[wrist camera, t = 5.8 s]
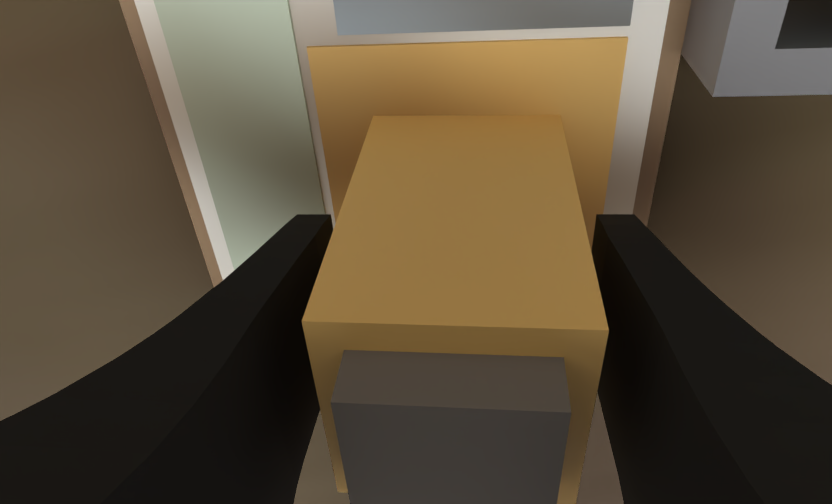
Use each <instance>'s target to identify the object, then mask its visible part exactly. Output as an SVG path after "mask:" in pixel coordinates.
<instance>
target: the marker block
mask: <svg viewBox="0 0 832 504" xmlns="http://www.w3.org/2000/svg"><path fill="white" fill-rule="evenodd" d="M302 326H303V331H304V335H305V340H306V345H307V349H308V354H309V359H310V363H311V368H312V373H313V377H314V382H315V387H316V391H317V396H318V401H319V406H320V410H321V415H322V420H323V424H324V429H325V434H326V438H327V443H328V448H329V452H330V457H331V462H332V467H333V471H334V476H335V481H336V485H337V490H338V492H343V493H348V494H349V500H350V504H576V500H577V495H578V489H579V484H580V479H581V474H582V468H583V463H584V458H585V453H586V448H587V442H588V437H589V432H590V427H591V422H592V416H593V411H594V406H595V401H596V396H597V390H598V385H599V380H600V375H601V369H602V364H603V359H604V354H605V349H606V343H607V338H608V333H609V328H608V324H607V319H606V315H605V310H604V306H603V301H602V297H601V293H600V288H599V284H598V279H597V275H596V270H595V266H594V262H593V257H592V253H591V248H590V244H589V239H588V235H587V231H586V226H585V222H584V217H583V213H582V208H581V204H580V200H579V195H578V191H577V186H576V182H575V177H574V173H573V169H572V164H571V160H570V155H569V151H568V146H567V142H566V138H565V133H564V129H563V124H562V120H561V115H443V116H373V118H372V121H371V124H370V126H369V129H368V132H367V135H366V138H365V141H364V144H363V146H362V149H361V152H360V155H359V158H358V161H357V164H356V166H355V169H354V172H353V175H352V178H351V181H350V184H349V187H348V189H347V192H346V195H345V198H344V201H343V204H342V207H341V209H340V212H339V215H338V218H337V221H336V224H335V227H334V230H333V232H332V235H331V238H330V241H329V244H328V247H327V250H326V252H325V255H324V258H323V261H322V264H321V267H320V270H319V273H318V275H317V278H316V281H315V284H314V287H313V290H312V293H311V295H310V298H309V301H308V304H307V307H306V310H305V313H304V316H303V318H302Z"/></svg>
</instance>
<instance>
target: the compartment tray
mask: <svg viewBox="0 0 832 504" xmlns="http://www.w3.org/2000/svg"><path fill="white" fill-rule="evenodd" d="M119 2H120V5H121V8H122V11H123V14H124V17H125V20H126V23H127V26H128V29H129V32H130V35H131V38H132V41H133V44H134V47H135V50H136V53H137V56H138V59H139V62H140V65H141V68H142V71H143V75H144V78H145V81H146V84H147V87H148V90H149V93H150V96H151V99H152V102H153V105H154V108H155V111H156V114H157V117H158V120H159V123H160V126H161V129H162V132H163V135H164V138H165V141H166V144H167V147H168V150H169V153H170V156H171V159H172V162H173V165H174V168H175V171H176V174H177V177H178V180H179V183H180V186H181V189H182V192H183V195H184V198H185V201H186V204H187V207H188V210H189V213H190V216H191V219H192V223H193V226H194V229H195V232H196V235H197V238H198V241H199V244H200V247H201V250H202V253H203V256H204V259H205V262H206V265H207V268H208V271H209V274H210V277H211V280H212V283H213V286H214V287H215V286H216V285H218V284H219V283H220V282H221V281H223V280H224V279H225V278H226V277H227V276H229V275H230V274H231V273H232V272H233V271H234V270H235V269H236V268H238V267H239V266H240V265H241V264H242V263H243V262H244V261H245V260H247V259H248V258H249V257H250V256H251V255H252V254H253V253H254V252H256V251H257V250H258V249H259V248H260V247H261V246H262V245H263V244H264V243H265V242H267V241H268V240H269V239H270V238H271V237H272V236H273V235H274V234H275V233H276V232H277V231H279V230H280V229H281V228H282V227H283V226H284V225H285V224H286V223H287V222H289V221H290V220H291V219H292V218H293V217H295V216H296V215H297V214H331V218H332V224H333V230H334V227H335V224H336V221H337V218H338V215H339V212H340V209H341V207H342V204H343V201H344V198H345V195H346V192H347V189H348V187H349V184H350V181H351V178H352V175H353V172H354V169H355V166H356V164H357V161H358V158H359V155H360V152H361V149H362V146H363V144H364V141H365V138H366V135H367V132H368V129H369V126H370V124H371V121H372V118H373V116H443V115H561V120H562V124H563V129H564V133H565V138H566V142H567V146H568V151H569V155H570V160H571V164H572V169H573V173H574V177H575V182H576V186H577V191H578V195H579V200H580V204H581V208H582V213H583V217H584V222H585V226H586V231H587V235H588V239H589V244H590V248H591V251H592V243H593V236H594V228H595V221H596V214H635V215H636V216H637V217H638V218H639V220H640V221H641V222H642V223H643V224H644V225H645V226H646V227H647V225H648V220H649V215H650V209H651V204H652V199H653V194H654V189H655V184H656V179H657V174H658V169H659V164H660V158H661V153H662V148H663V143H664V138H665V133H666V128H667V123H668V118H669V113H670V107H671V102H672V97H673V92H674V87H675V82H676V77H677V72H678V67H679V61H680V56H681V51H682V46H683V41H684V36H685V31H686V26H687V21H688V16H689V10H690V5H691V0H119Z"/></svg>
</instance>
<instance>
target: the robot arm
mask: <svg viewBox="0 0 832 504" xmlns="http://www.w3.org/2000/svg"><path fill="white" fill-rule="evenodd" d="M332 232H333V224H332V218H331V214H297V215H296V216H295V217H293V218H292V219H291V220H290V221H289V222H287V223H286V224H285V225H284V226H283V227H282V228H281V229H280V230H279V231H277V232H276V233H275V234H274V235H273V236H272V237H271V238H270V239H269V240H268V241H267V242H265V243H264V244H263V245H262V246H261V247H260V248H259V249H258V250H257V251H256V252H254V253H253V254H252V255H251V256H250V257H249V258H248V259H247V260H245V261H244V262H243V263H242V264H241V265H240V266H239V267H238V268H236V269H235V270H234V271H233V272H232V273H231V274H230V275H229V276H227V277H226V278H225V279H224V280H223V281H221V282H220V283H219V284H218V285H216V286H215V287H214V288H213V289H211V290H210V291H209V292H208V293H207V294H205V295H204V296H203V297H202V298H200V299H199V300H198V301H197V302H195V303H194V304H193V305H192V306H190V307H189V308H188V309H187V310H185V311H184V312H183V313H182V314H180V315H179V316H178V317H176V318H175V319H174V320H172V321H171V322H169V323H168V324H167V325H165V326H164V327H162V328H161V329H160V330H158V331H157V332H155V333H154V334H153V335H151V336H150V337H148V338H146V339H145V340H143V341H142V342H140V343H139V344H137V345H136V346H134V347H133V348H131V349H130V350H128V351H127V352H125V353H124V354H122V355H121V356H119V357H117V358H116V359H114V360H113V361H111V362H109V363H107V364H106V365H104V366H102V367H100V368H99V369H97V370H95V371H93V372H92V373H90V374H88V375H87V376H85V377H83V378H81V379H80V380H78V381H76V382H74V383H73V384H71V385H69V386H67V387H66V388H64V389H62V390H61V391H59V392H57V393H55V394H53V395H51V396H50V397H48V398H46V399H44V400H42V401H40V402H38V403H36V404H34V405H32V406H30V407H28V408H26V409H24V410H22V411H20V412H18V413H16V414H14V415H12V416H10V417H8V418H6V419H4V420H2V421H0V504H293V503H294V498H295V493H296V488H297V484H298V480H299V476H300V473H301V469H302V465H303V461H304V458H305V455H306V452H307V449H308V445H309V442H310V439H311V436H312V433H313V430H314V426H315V423H316V420H317V417H318V414H319V411H320V406H319V401H318V396H317V391H316V387H315V382H314V377H313V373H312V368H311V363H310V359H309V354H308V349H307V345H306V340H305V335H304V331H303V326H302V318H303V316H304V313H305V310H306V307H307V304H308V301H309V298H310V295H311V293H312V290H313V287H314V284H315V281H316V278H317V275H318V273H319V270H320V267H321V264H322V261H323V258H324V255H325V252H326V250H327V247H328V244H329V241H330V238H331V235H332ZM591 253H592V257H593V262H594V266H595V270H596V275H597V279H598V284H599V288H600V293H601V297H602V301H603V306H604V310H605V315H606V319H607V324H608V328H609V333H608V338H607V343H606V349H605V354H604V359H603V364H602V369H601V375H600V380H599V385H598V390H597V391H598V395H599V399H600V403H601V407H602V411H603V415H604V419H605V423H606V427H607V431H608V435H609V439H610V443H611V447H612V451H613V455H614V459H615V463H616V467H617V471H618V476H619V481H620V486H621V491H622V495H623V500H624V504H832V385H831V384H829V383H828V382H826V381H825V380H823V379H822V378H820V377H819V376H817V375H816V374H814V373H813V372H812V371H810V370H809V369H807V368H806V367H805V366H803V365H802V364H800V363H799V362H798V361H796V360H795V359H794V358H792V357H791V356H789V355H788V354H787V353H785V352H784V351H782V350H781V349H780V348H778V347H777V346H776V345H774V344H773V343H772V342H770V341H769V340H768V339H767V338H765V337H764V336H763V335H761V334H760V333H759V332H758V331H756V330H755V329H754V328H753V327H752V326H751V325H749V324H748V323H747V322H746V321H745V320H743V319H742V318H741V317H740V316H739V315H737V314H736V313H735V312H734V311H733V310H732V309H730V308H729V307H728V306H727V305H726V304H725V303H723V302H722V301H721V300H720V299H719V298H718V297H717V296H716V295H715V294H713V293H712V292H711V291H710V290H709V289H708V288H707V287H706V286H705V285H704V284H703V283H702V282H701V281H700V280H698V279H697V278H696V277H695V276H694V275H693V274H692V273H691V272H690V271H689V270H688V269H687V268H686V267H685V266H684V265H683V264H682V263H681V262H680V261H679V260H678V259H677V258H676V257H675V256H674V255H673V254H672V253H671V252H670V251H669V250H668V249H667V248H666V247H665V246H664V245H663V243H662V242H661V241H660V240H659V239H658V238H657V237H656V236H655V235H654V234H653V233H652V232H651V231H650V230H649V229H648V228H647V227H646V226H645V225H644V224H643V223H642V222H641V221H640V220H639V218H638V217H637V216H636V215H635V214H596V221H595V228H594V236H593V243H592V251H591Z"/></svg>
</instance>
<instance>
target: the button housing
mask: <svg viewBox="0 0 832 504" xmlns="http://www.w3.org/2000/svg"><path fill="white" fill-rule="evenodd" d="M681 55H682V56H683V57H684V59H685V60H686V61H687V63H688V64H689V66H690V67H691V68H692V70H693V71H694V72H695V74H696V75H697V76H698V78H699V79H700V81H701V82H702V83H703V85H704V86H705V87H706V89H707V90H708V91H709V93H710V94H711V96H712V97H734V96H783V95H832V0H792V1H789V0H691V5H690V10H689V16H688V21H687V26H686V31H685V36H684V41H683V46H682V51H681Z"/></svg>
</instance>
